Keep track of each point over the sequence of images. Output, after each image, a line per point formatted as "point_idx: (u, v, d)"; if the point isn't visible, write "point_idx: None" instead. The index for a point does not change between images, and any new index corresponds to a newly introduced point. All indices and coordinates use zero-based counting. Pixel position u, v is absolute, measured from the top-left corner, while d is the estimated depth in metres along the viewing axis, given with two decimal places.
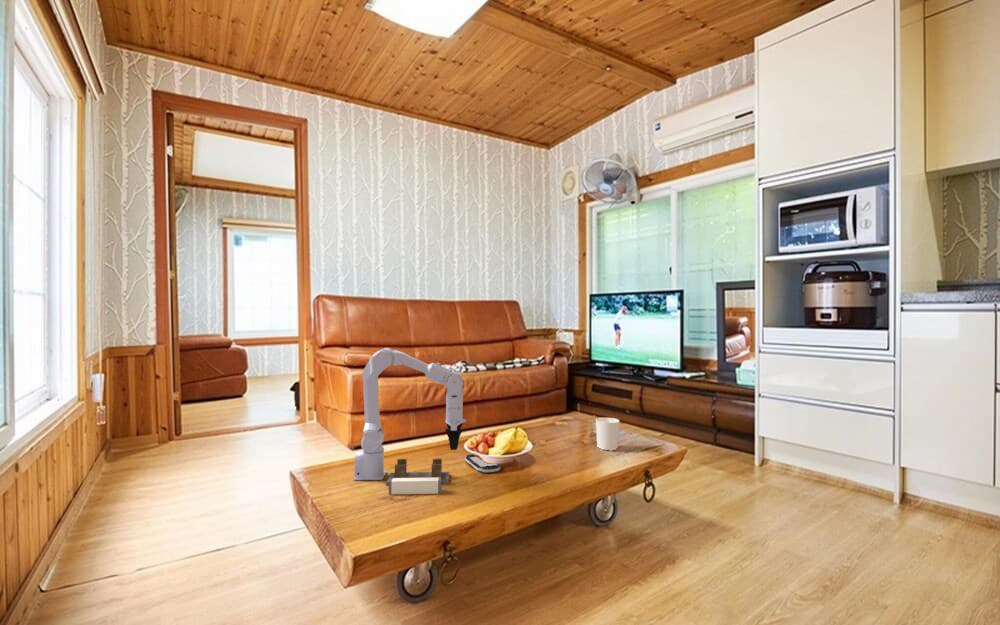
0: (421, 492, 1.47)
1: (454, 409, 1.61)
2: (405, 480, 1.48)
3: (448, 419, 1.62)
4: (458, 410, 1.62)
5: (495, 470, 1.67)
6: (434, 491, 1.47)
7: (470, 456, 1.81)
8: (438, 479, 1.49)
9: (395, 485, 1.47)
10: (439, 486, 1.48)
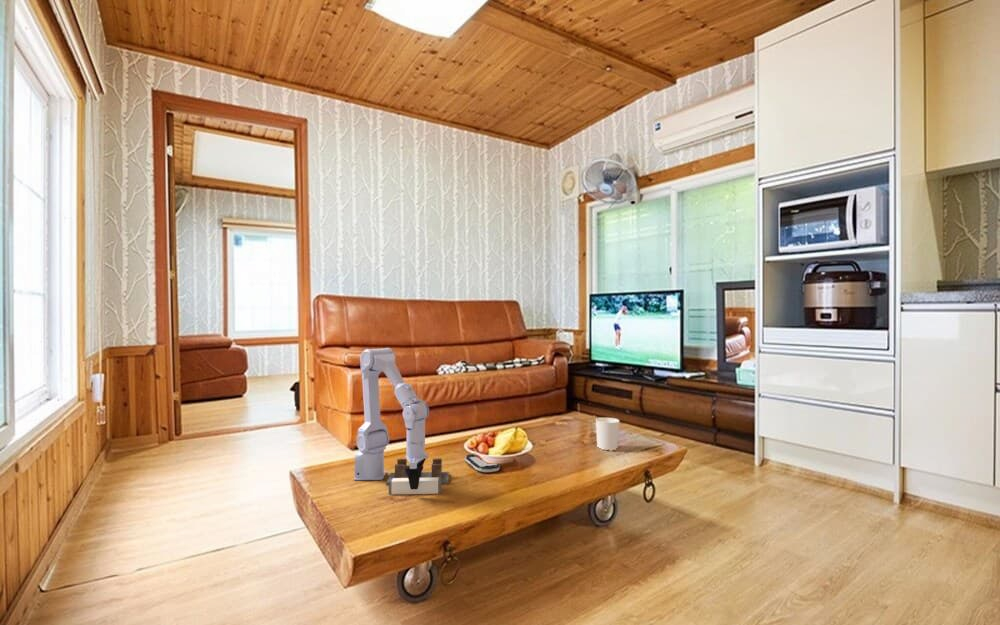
0: (421, 492, 1.47)
1: (415, 444, 1.46)
2: (405, 480, 1.48)
3: (408, 455, 1.46)
4: (419, 445, 1.46)
5: (494, 470, 1.67)
6: (434, 491, 1.47)
7: (470, 456, 1.81)
8: (438, 479, 1.49)
9: (395, 485, 1.47)
10: (439, 486, 1.48)
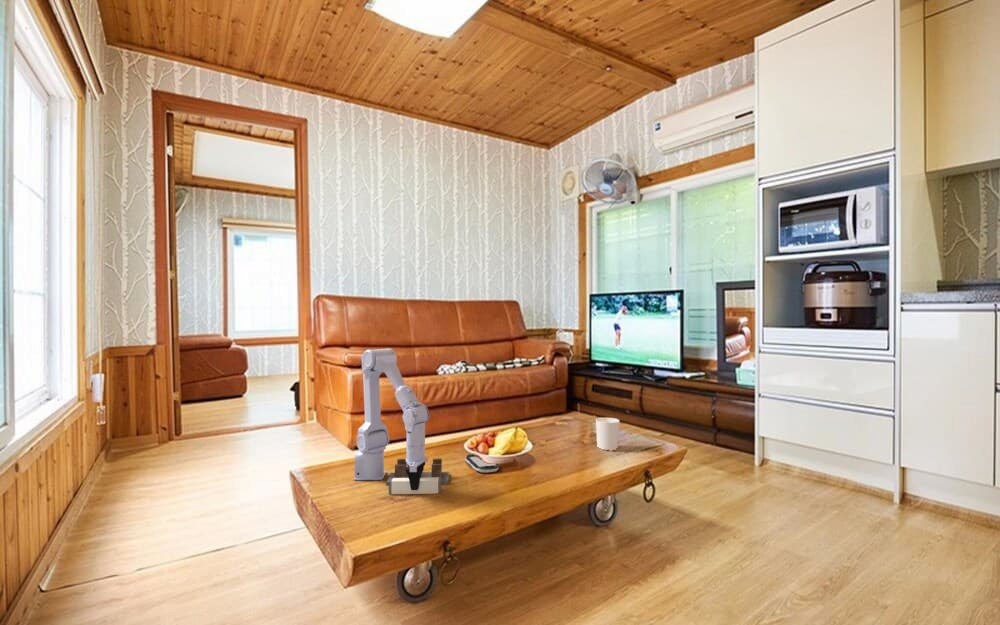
0: (421, 492, 1.47)
1: (415, 447, 1.46)
2: (405, 480, 1.48)
3: (408, 458, 1.46)
4: (419, 448, 1.46)
5: (493, 470, 1.66)
6: (434, 491, 1.47)
7: (470, 456, 1.81)
8: (438, 479, 1.49)
9: (395, 484, 1.47)
10: (439, 486, 1.48)
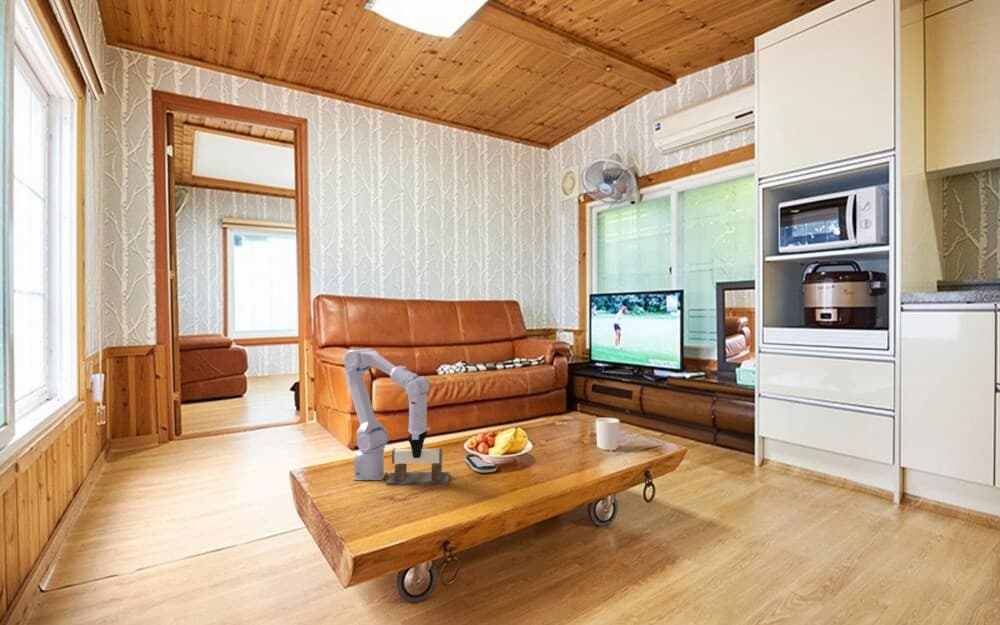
0: (423, 462, 1.54)
1: (417, 417, 1.52)
2: (407, 450, 1.54)
3: (410, 427, 1.53)
4: (421, 418, 1.53)
5: (491, 471, 1.66)
6: (435, 461, 1.54)
7: (470, 456, 1.81)
8: (439, 449, 1.55)
9: (398, 454, 1.53)
10: (440, 456, 1.54)
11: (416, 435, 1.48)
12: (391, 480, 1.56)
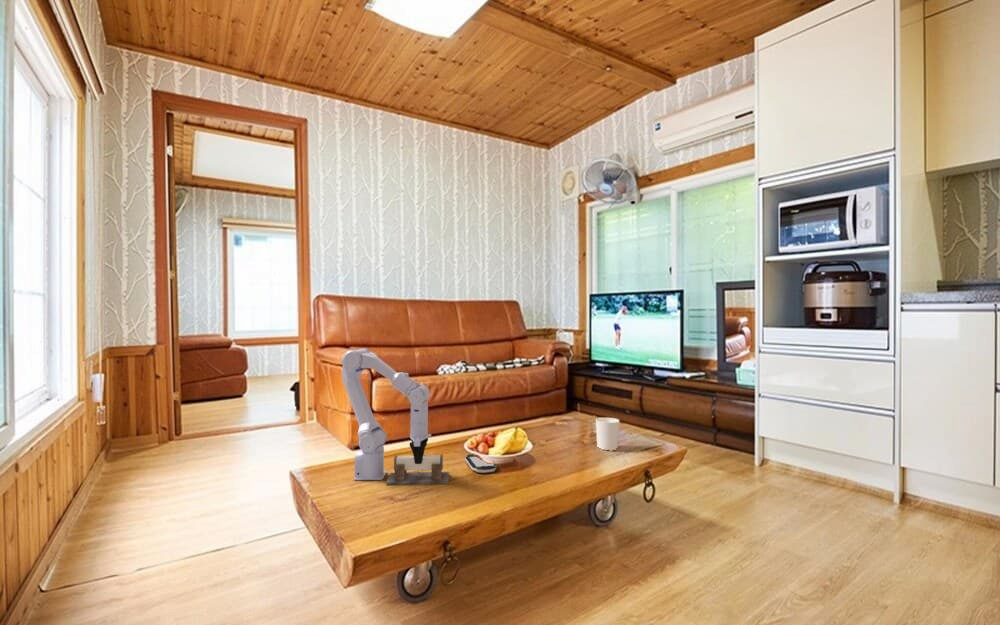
0: (424, 468, 1.58)
1: (418, 424, 1.57)
2: (409, 457, 1.58)
3: (412, 434, 1.57)
4: (422, 425, 1.57)
5: (490, 471, 1.66)
6: None
7: (470, 456, 1.81)
8: (440, 456, 1.60)
9: (400, 461, 1.58)
10: (441, 463, 1.58)
11: (418, 442, 1.52)
12: (391, 480, 1.56)
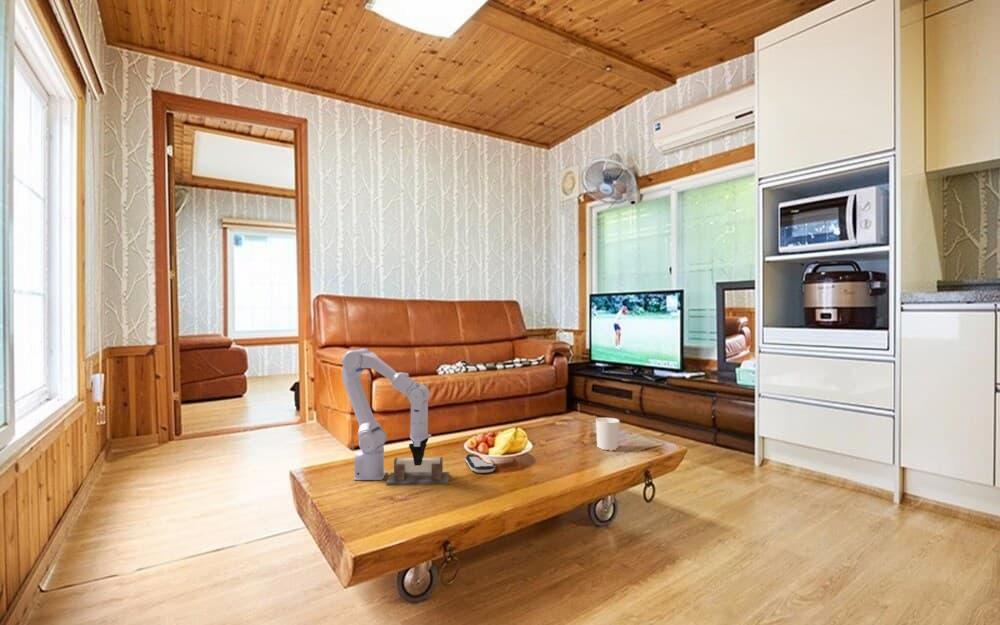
0: (424, 470, 1.58)
1: (418, 424, 1.57)
2: (409, 459, 1.58)
3: (412, 434, 1.57)
4: (422, 425, 1.57)
5: (488, 471, 1.66)
6: None
7: (470, 456, 1.81)
8: (440, 459, 1.59)
9: (400, 463, 1.57)
10: (441, 465, 1.58)
11: (418, 442, 1.52)
12: (391, 480, 1.56)
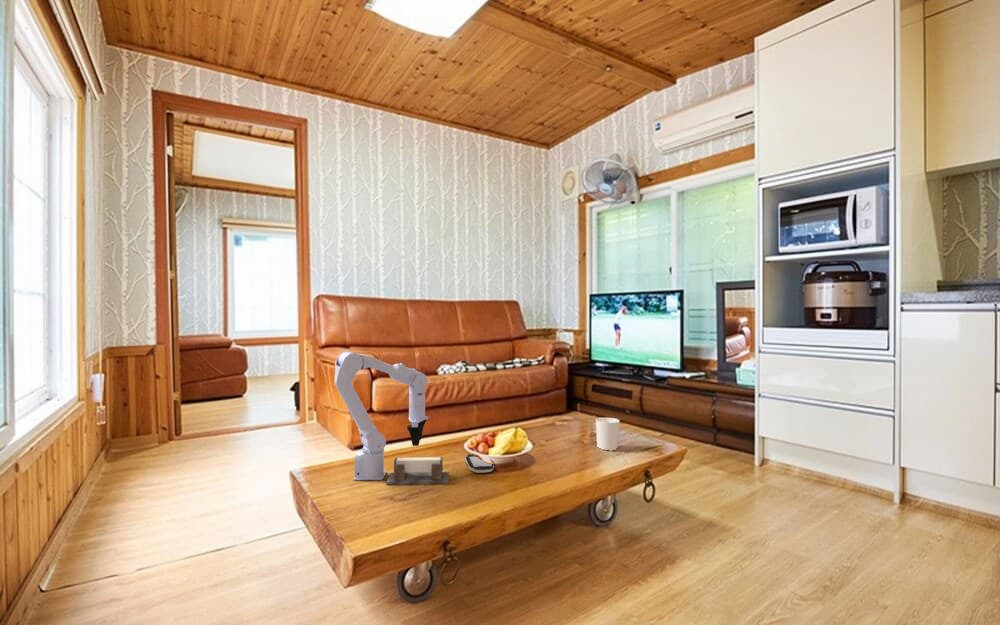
0: (424, 470, 1.58)
1: (416, 407, 1.68)
2: (409, 459, 1.58)
3: (410, 416, 1.69)
4: (420, 408, 1.68)
5: (487, 471, 1.66)
6: None
7: (471, 455, 1.81)
8: (440, 459, 1.59)
9: (400, 463, 1.57)
10: (441, 465, 1.58)
11: (415, 423, 1.63)
12: (391, 480, 1.56)
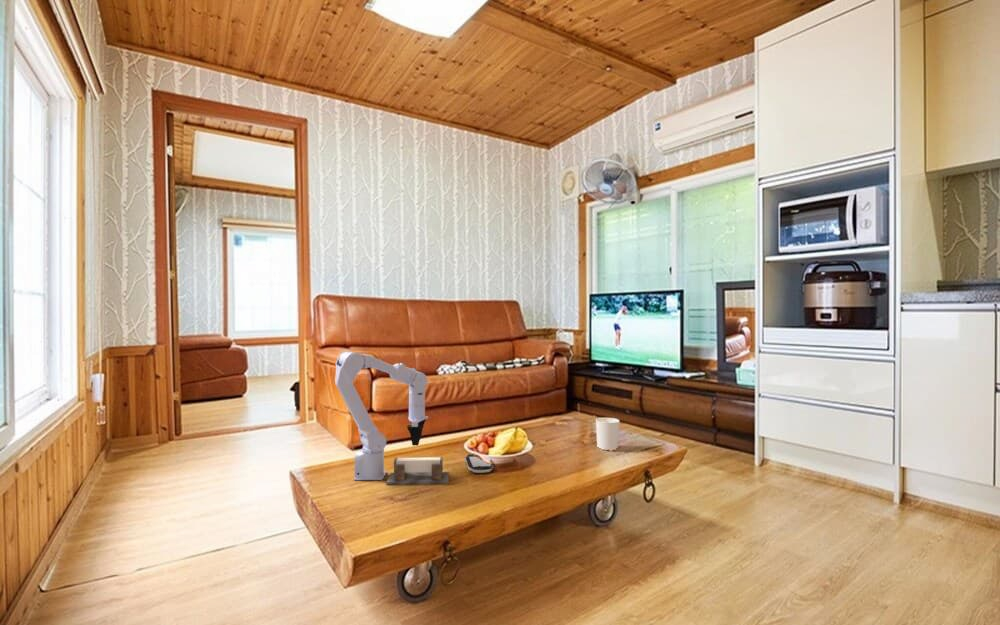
0: (424, 470, 1.58)
1: (416, 406, 1.68)
2: (409, 459, 1.58)
3: (410, 416, 1.69)
4: (420, 407, 1.69)
5: (485, 471, 1.66)
6: None
7: (471, 455, 1.81)
8: (440, 459, 1.59)
9: (400, 463, 1.57)
10: (441, 465, 1.58)
11: (415, 423, 1.64)
12: (391, 480, 1.56)
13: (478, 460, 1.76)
